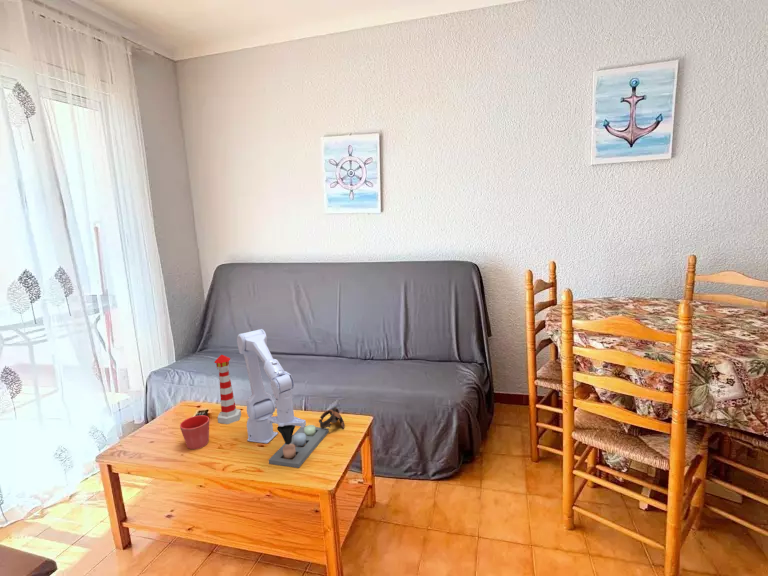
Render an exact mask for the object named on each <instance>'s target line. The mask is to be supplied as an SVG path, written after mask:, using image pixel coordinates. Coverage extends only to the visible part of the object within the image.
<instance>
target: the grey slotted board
mask: <svg viewBox="0 0 768 576" xmlns="http://www.w3.org/2000/svg"><path fill="white" fill-rule="evenodd" d="M306 426H307V425H305V426H304V427H301V426H299V428H298V429H297V430H296V431H295V432H293V435H292V442H291V443H290V444H294V435H295V434H297V433H304V428H305V427H306ZM315 430H316V434H315V435H314V436H306V444H305V445H304V446H300V447H297V446H295V450H296V455H295V457H293V458H290V459H286V458H284V456H283V447H284V446H285V445H287V444H285V443H283V445H282V446H280V448H278V450H276V451H275V452H274V453H273V455H272V456H271V457H270V458H269V459H268V464H269V465H275V466H281V467H282V466H283V467H289V468H297V469H299V468H300V467H301V466H302V465H303V464H304V462H305V461H306V460H307V459H308V458H309V456H310V455H311V454H312V453H313V452H314V450H316V448H317V447H318V446H319V444H320V443H321V442H322V441H323V439H325V437H326V436H327V435H328V433H330V431H329V430H330V427H326V428H321V427H320V426H319V427H318V426H315ZM294 445H295V444H294Z"/></svg>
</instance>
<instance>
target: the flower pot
mask: <svg viewBox="0 0 768 576" xmlns="http://www.w3.org/2000/svg"><path fill="white" fill-rule="evenodd" d="M179 427H180V431H181V434H182V436H183V439H184V442H185V444H186V447H187V448H188V449H190V450H198V449H201V448H204V447H205V446H207V444H208V443H209V438H210V418H209V416H207V415H203V414H202V415H194V416H191V417H188V418H186V419H184V420H183V421H182V422H180V425H179Z"/></svg>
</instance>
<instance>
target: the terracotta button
mask: <svg viewBox="0 0 768 576" xmlns="http://www.w3.org/2000/svg"><path fill="white" fill-rule="evenodd" d="M295 447H296V446H295V445H294V444H289V445H288V444H287V445H285V446H284V447H283V456H284V459H293V458H294V457H295V456H296V450H295Z"/></svg>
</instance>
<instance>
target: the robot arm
mask: <svg viewBox="0 0 768 576" xmlns="http://www.w3.org/2000/svg"><path fill="white" fill-rule="evenodd" d="M267 341H268V337H267V333H266V331H265V330H264V329H263V328H260V329H257V330H256V329H255V330H252V331H247V332H243V333H242V332H241V333H238V335H237V338H236V344H237V348H238V352H239V354H240V355H243V357H244V361H245V366H246V370H247V376H248V380H249V381H248V382H249V384H250V385H249V386H250V390H251V395H250V396H249V398H248V399H247V400H246V403H245V404H246V413H247V417H248V418H247V422H246V430H247V432H246V433H247V440H246V441H247V442H252V443H253V442H254V443H262V444H268V443H270V442H271V441H272V440H273V439H274V438H275V437H276V436H277V435H278V434H279V433H280V435H281V437H282V439H283V442H284V444H288V445H289V444H290V443H291V442H292V435H293V434H294V431H295V428H296V427H304V426H307V422H306V421H307V420H306V419H302V418H299V417H297V416H295V413H294V403H293V402H294V401H293V393H292V392H293V391H292V389H294V388H295V387H294V386H295V381H294V378H293V376H292V374H291V373H289V372H288V371H285V369H284V368H283V366H282V364H280V361H279V360H278V359H275V358H274V357H273V355H272V353H271V352H270V350H269V349H270V348H269V347H268V345H267V343H268V342H267ZM259 359H260V360H261V361H262V363H263V370H264V372H265V374H266V375H267V377H268V379H269V380H270V386H271V387H270V388H271V390H272V393H273V394H271V393H269V392H266V391H265V385H264V381H263V377H262V372H261V366H260V361H259ZM272 395H273V396H272ZM273 397H274V398H273ZM274 399H275V401H274ZM275 411H276V415H274V413H275ZM273 424H275V425H276V424H277V427H276V430H277V431H274V427H273Z"/></svg>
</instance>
